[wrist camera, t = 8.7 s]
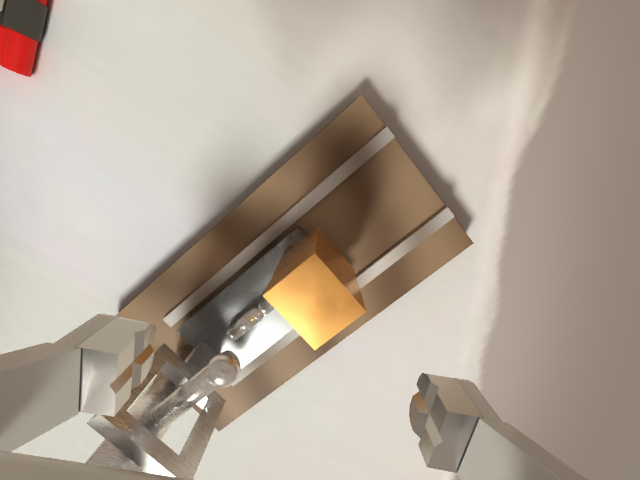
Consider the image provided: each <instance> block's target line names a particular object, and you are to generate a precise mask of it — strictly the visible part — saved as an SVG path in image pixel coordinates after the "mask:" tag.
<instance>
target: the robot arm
mask: <svg viewBox="0 0 640 480" xmlns="http://www.w3.org/2000/svg"><path fill="white" fill-rule="evenodd" d="M155 338H156V326H155V325H154V324H152V323H147V322H143V321H138V320H133V319H128V318H123V317H118V316H113V315H107V314H98V315H96V316H95V317H93V318H92V319H90V320H88V321H87V322H85V323H84V324H82V325H81V326H79V327H78V328H76V329H75V330H73V331H72V332H70V333H69V334H67V335H66V336H64V337H63V338H61V339H60V340H58V341H57V342H55V343H43V344H40V345H36V346H32V347H28V348H24V349H20V350H17V351H13V352H9V353H5V354H1V355H0V480H191V479H185V478H178V477H172V476H165V475H158V474H152V473H145V472H138V471H132V470H125V469H118V468H112V467H105V466H98V465H92V464H85V463H79V462H72V461H65V460H59V459H52V458H45V457H39V456H32V455H25V454H19V453H12V452H11V451H13V450H15V449H17V448H18V447H20V446H22V445H24V444H26V443H27V442H29V441H31V440H33V439H34V438H36V437H38V436H40V435H42V434H43V433H45V432H47V431H49V430H51V429H52V428H54V427H56V426H58V425H59V424H61V423H63V422H65V421H67V420H68V419H70V418H72V417H74V416H76V415H77V414H78V413H79V412H83V413H90V414H98V415H106V416H115V415H116V414H117V412H118V411H119V410H120V409H121V408H122V406H123V405H124V404H125V403H126V401H127V400H128V399H129V398H130V394H131V389H132V388H134V387H136V386H139V385H140V384H141V383H142V382H143V380H144V379H145V378H146V376H147V374H148V372H149V370H150V368H151V366H152V362H153V358H154V350H153V348H152V346H151V345H150V343H151V342H152V341H153V340H154V339H155ZM417 386H418V389H419V392H418V393H416V394H415V395H414V396H413V397H412V400H411V403H410V413H409V416H410V422H411V426H412V429H413V431H414V432H415V433H416V434H417V435H418V436H419V437H420V438H421V439H420V442H419V447H420V450H421V453H422V455H423V458H424V460H425V463H426V466H427V467H429V468H434V469H439V470H445V471H450V472H455V473H457V475H458V476H459V477H460V479H461V480H588V479H586V478H585V477H583V476H582V475H580V474H579V473H577V472H576V471H575V470H573V469H572V468H571V467H569V466H568V465H566V464H565V463H564V462H562V461H561V460H559V459H558V458H557V457H555V456H554V455H552V454H551V453H550V452H548V451H547V450H545V449H544V448H543V447H541V446H540V445H538V444H537V443H535V442H534V441H533V440H531V439H530V438H528V437H527V436H526V435H524V434H523V433H521V432H520V431H518V430H517V429H516V428H514V427H513V426H511V425H510V424H508V423H506V422H502V420H501V419H500V418H499V416H498V415H497V414H496V412H495V411H494V410H493V409H492V407H491V406H490V404H489V403H488V402H487V400H486V399H485V398H484V396H483V395H482V394H481V392H480V391H479V390H478V388H477V387H476V386H475V384H474V383H473V382H471V381H470V380H464V379H457V378H449V377H443V376H437V375H430V374H424V373H422V374H421V375H420V377H419V379H418V382H417Z"/></svg>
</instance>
